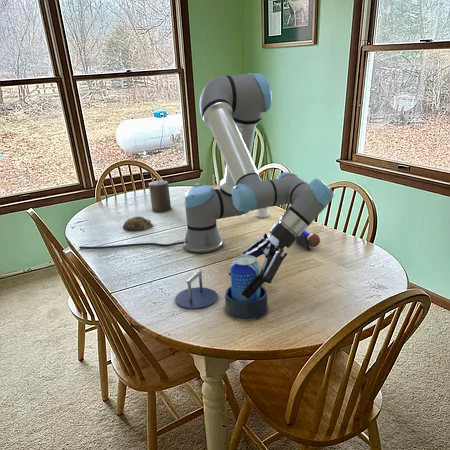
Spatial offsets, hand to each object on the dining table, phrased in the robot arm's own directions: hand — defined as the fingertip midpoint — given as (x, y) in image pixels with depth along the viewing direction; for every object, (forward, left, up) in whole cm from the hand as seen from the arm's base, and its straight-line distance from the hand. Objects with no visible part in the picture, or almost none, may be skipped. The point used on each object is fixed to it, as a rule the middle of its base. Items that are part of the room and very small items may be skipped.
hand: (238, 286), depth 128 cm
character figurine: (+4, +55, -9) cm, 56 cm away
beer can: (+2, +2, -8) cm, 8 cm away
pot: (+2, +2, -8) cm, 9 cm away
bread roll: (-74, +55, -9) cm, 92 cm away
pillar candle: (-78, +81, -9) cm, 113 cm away
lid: (-15, +1, -8) cm, 17 cm away
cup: (-25, +86, -9) cm, 90 cm away
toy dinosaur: (-64, +98, -9) cm, 117 cm away
